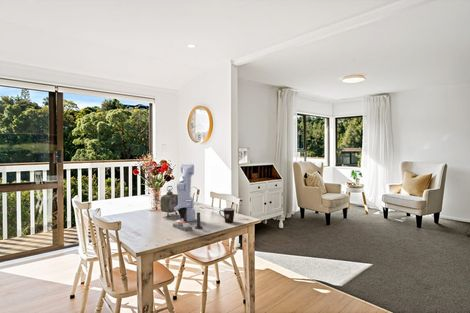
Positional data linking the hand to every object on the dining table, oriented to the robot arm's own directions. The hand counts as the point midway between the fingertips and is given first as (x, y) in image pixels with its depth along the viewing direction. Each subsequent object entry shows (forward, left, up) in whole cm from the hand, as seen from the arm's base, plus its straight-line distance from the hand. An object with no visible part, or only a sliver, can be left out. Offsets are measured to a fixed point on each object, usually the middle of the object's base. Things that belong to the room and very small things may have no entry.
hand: (182, 218), depth 202 cm
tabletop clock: (-12, -37, -7) cm, 40 cm away
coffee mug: (-34, +11, -7) cm, 36 cm away
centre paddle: (0, 0, -3) cm, 3 cm away
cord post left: (-8, -8, -7) cm, 14 cm away
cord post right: (-8, +8, -7) cm, 14 cm away
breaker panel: (0, 0, -7) cm, 7 cm away
